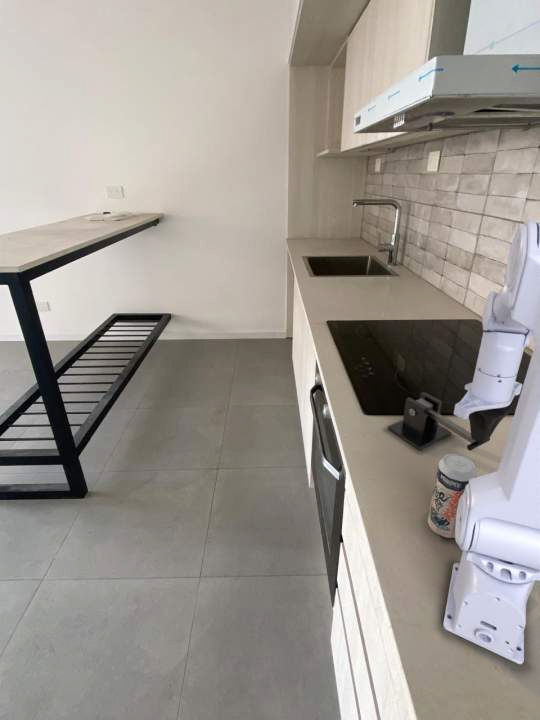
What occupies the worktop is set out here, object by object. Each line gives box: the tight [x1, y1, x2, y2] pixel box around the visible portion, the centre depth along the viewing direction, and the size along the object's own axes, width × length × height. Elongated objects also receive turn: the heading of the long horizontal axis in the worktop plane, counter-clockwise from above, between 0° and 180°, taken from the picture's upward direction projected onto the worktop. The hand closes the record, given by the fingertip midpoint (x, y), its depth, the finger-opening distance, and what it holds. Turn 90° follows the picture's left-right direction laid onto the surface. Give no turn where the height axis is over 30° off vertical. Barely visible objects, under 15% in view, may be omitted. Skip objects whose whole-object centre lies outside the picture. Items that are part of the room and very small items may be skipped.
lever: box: [415, 398, 491, 451], centre depth 72 cm, size 14×5×2 cm, turn 30°
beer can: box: [427, 453, 478, 539], centre depth 56 cm, size 5×5×12 cm
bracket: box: [387, 391, 452, 452], centre depth 78 cm, size 8×9×8 cm
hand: (478, 440), depth 67 cm, fingers closed, pressing on lever
